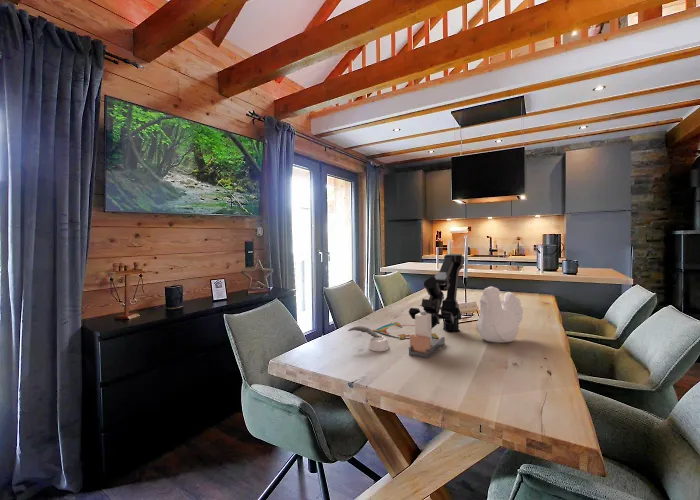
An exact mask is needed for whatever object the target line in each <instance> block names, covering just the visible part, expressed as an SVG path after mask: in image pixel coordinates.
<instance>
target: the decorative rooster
mask: <svg viewBox="0 0 700 500" xmlns="http://www.w3.org/2000/svg"><path fill="white" fill-rule="evenodd" d="M500 295H501V291H500V289H499V288H497V287H495V286H488V287H486V288H484V289H483V291H482V295H481V296H480V299H479V304H480V306H479V307H480V309H479V316H478V319H477V324H476V331H477V333H478V335H479V336H480V338H482V339H483V340H485V341H487V342H491V343H511V342H512V341H514V340H515V339H516V338H517V336H518V333H519V328H520V327H519V326H520V323H522V321H523V314H524V308H523V306H522V303H521V299H520V298H518V297H517V296H516V295H517V294H514V293H513V292H510V291H508V292H507V291H506V292H505V293H504V295H503V299H501V298H500Z"/></svg>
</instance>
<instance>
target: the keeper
mask: <svg viewBox="0 0 700 500" xmlns="http://www.w3.org/2000/svg"><path fill="white" fill-rule="evenodd" d="M414 325H415V327H414V328H415V329H414V330H415V331H414V335H418V336H424V337H430V338H431V346H432V339H433V338H432V329H431V314H428V313H426V311H425V310H420V313H418V314H416V315H415V319H414Z"/></svg>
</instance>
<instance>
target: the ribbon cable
mask: <svg viewBox="0 0 700 500" xmlns="http://www.w3.org/2000/svg"><path fill="white" fill-rule="evenodd" d="M406 326H408V327H409V326H410V327H411V326H415V324H413V325H412V324H406V325H404V324H403V325H402V324H400V323H399V322H398V321H396V322H394V323H388V324H384V325H382V326H381V327H378V328H377V329H372V331H374V332H375V333H379V334H380V335H381V334H382V335H385V336H388V337H391V338H396V336H393V335H391V334H390V333H389V332H387V330H388V329H389V328H391V327H406ZM431 333H432V332H431ZM410 335H411V334H406V333H401V334H398V335H397V336H398V337H397V339H399V340H405V339H409V340H410ZM432 339H437V340H439V339H440V337H439V336H438V335H437V334H436V332H435V333H432Z"/></svg>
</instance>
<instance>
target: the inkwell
mask: <svg viewBox="0 0 700 500" xmlns="http://www.w3.org/2000/svg"><path fill="white" fill-rule="evenodd" d="M347 331H348V332H351V331H356V332H357V331H358V332H361V333H367V334H368V335H371V338H369V342H368V346H367V348H368V349H369V350H370V351H372V352H385V351H388V350H389V349H390V346H389V341H388V339H387V337H385V336H384V335H383V334H382V335H381V334H377V332H374V331H373V329H370V328H368V327H366V326H362V325H359V326H353V327H351V328H349V329H348V330H347Z"/></svg>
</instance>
